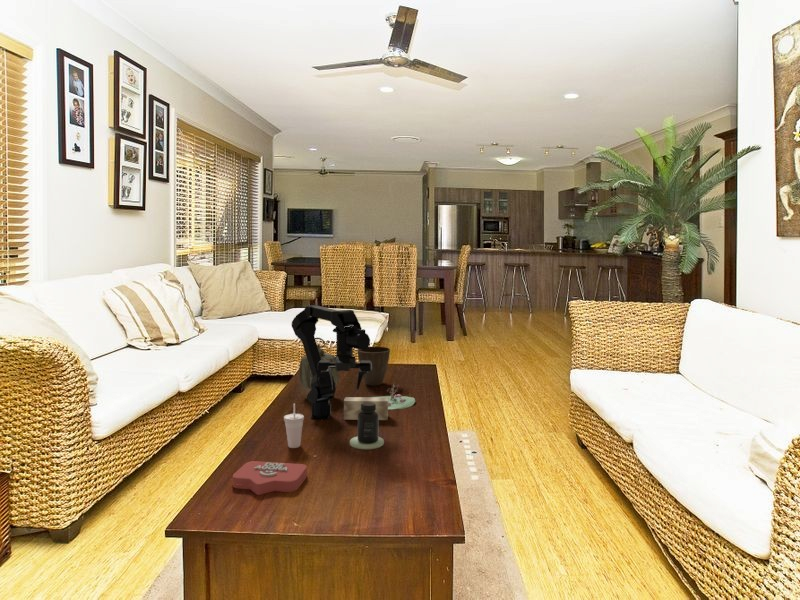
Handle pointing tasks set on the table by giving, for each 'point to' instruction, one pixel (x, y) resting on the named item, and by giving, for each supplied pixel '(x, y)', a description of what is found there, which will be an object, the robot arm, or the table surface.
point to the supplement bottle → (368, 424)
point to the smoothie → (294, 428)
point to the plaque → (270, 477)
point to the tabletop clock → (306, 372)
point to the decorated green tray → (398, 400)
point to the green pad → (366, 444)
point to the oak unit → (354, 407)
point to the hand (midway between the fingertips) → (344, 389)
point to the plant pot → (375, 363)
